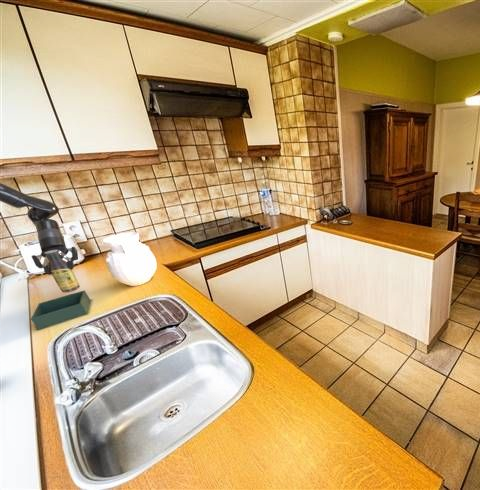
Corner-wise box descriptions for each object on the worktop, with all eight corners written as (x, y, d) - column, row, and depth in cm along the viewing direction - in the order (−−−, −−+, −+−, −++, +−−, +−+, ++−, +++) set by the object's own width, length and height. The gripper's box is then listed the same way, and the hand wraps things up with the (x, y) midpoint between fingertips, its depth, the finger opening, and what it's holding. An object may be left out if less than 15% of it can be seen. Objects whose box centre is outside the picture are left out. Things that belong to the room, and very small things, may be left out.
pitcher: (165, 279, 138) (147, 235, 128) (120, 295, 126) (95, 247, 116) (157, 268, 150) (140, 227, 140) (115, 282, 138) (93, 238, 128)
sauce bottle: (59, 295, 121) (34, 256, 112) (66, 288, 126) (42, 250, 117) (78, 290, 123) (55, 252, 115) (84, 284, 128) (62, 247, 120)
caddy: (38, 329, 105) (30, 319, 103) (45, 313, 115) (38, 303, 113) (87, 313, 113) (81, 303, 111) (90, 300, 123) (84, 290, 121)
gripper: (23, 241, 115) (31, 274, 112) (69, 232, 124) (79, 262, 120) (33, 248, 121) (41, 280, 118) (76, 239, 130) (86, 269, 126)
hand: (60, 271), depth 119 cm, fingers closed on sauce bottle, 6 cm apart
